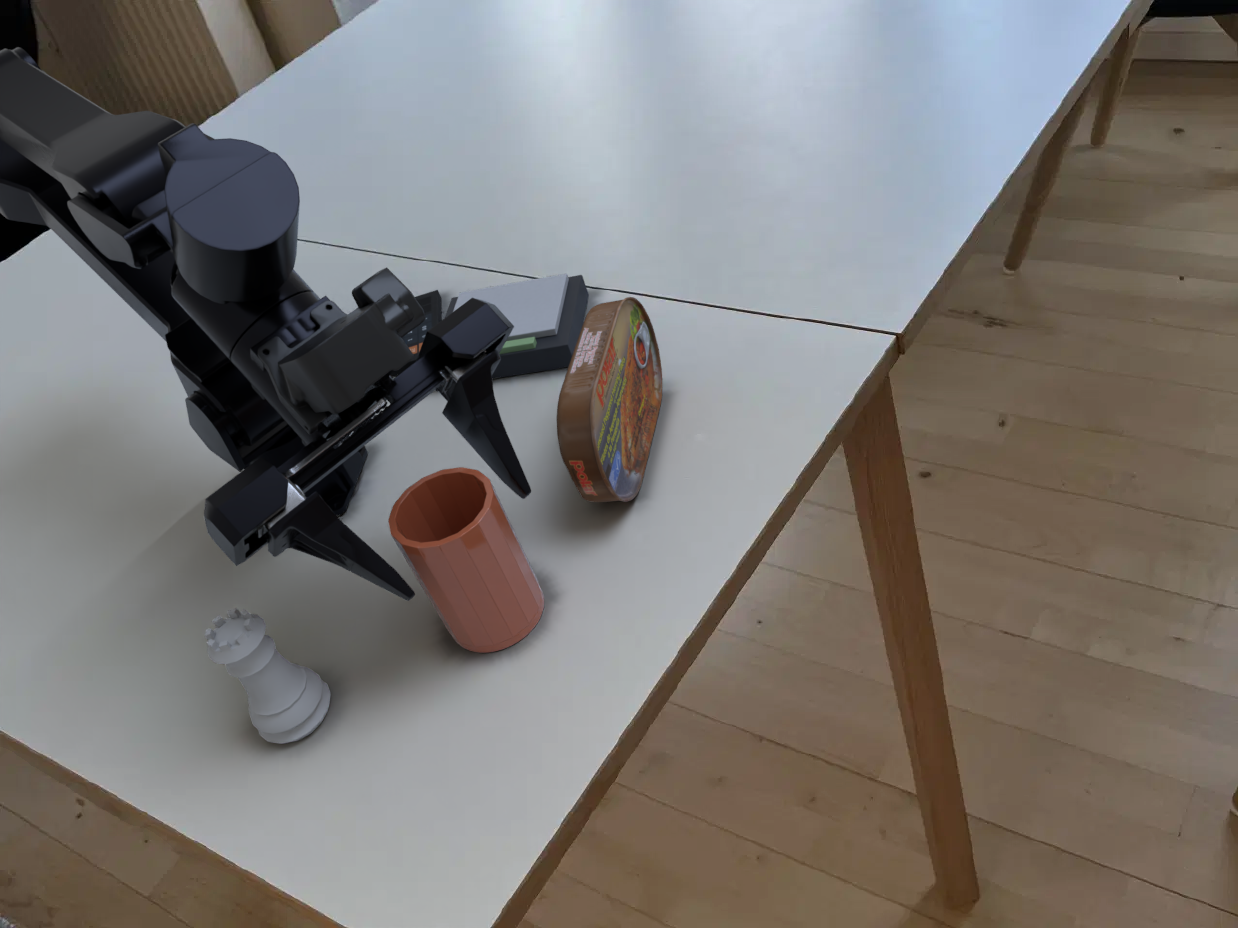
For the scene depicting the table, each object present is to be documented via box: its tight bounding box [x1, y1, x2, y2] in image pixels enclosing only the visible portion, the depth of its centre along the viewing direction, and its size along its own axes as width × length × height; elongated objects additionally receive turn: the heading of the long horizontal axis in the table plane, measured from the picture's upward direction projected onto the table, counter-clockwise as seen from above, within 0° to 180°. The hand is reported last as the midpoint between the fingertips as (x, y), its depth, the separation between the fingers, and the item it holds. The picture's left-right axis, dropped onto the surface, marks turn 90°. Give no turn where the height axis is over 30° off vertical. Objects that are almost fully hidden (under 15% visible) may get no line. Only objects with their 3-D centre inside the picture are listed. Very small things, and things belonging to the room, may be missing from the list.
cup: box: [387, 466, 545, 654], centre depth 59 cm, size 6×6×9 cm
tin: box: [556, 296, 663, 503], centre depth 67 cm, size 15×3×8 cm, turn 168°
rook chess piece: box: [204, 607, 332, 744], centre depth 58 cm, size 4×4×8 cm
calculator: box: [390, 289, 443, 378], centre depth 86 cm, size 9×12×3 cm
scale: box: [444, 273, 590, 380], centre depth 82 cm, size 11×9×3 cm
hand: (471, 545), depth 57 cm, fingers open, 8 cm apart
